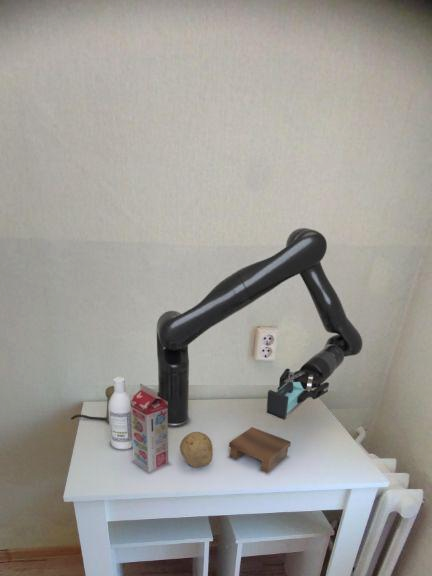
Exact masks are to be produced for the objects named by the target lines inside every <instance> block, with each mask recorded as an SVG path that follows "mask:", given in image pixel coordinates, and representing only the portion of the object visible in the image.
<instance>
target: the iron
mask: <svg viewBox="0 0 432 576" xmlns="http://www.w3.org/2000/svg"><path fill="white" fill-rule="evenodd" d="M277 390H278V389H277ZM304 390H305V389H303V387H302V385H301V383H300V382H288V383H286V384H285V385H284V386H282V387H281V388H280V389H279V390H278V391H275V390H272V389H269V390H268V391H267V402H266V414H269V415H271V416H273V417H276V418H279V419H281V420H283V421H285V420H286V419H287V418H288V417H290V415H291V414H292V413H293V412H295V411H296V410H297V409H298V407H300V406H301V405H302V404H303V402H301V403H300V404H299V403H297V397H298V396H299V395H300V394H301V393H302V392H303V391H304Z"/></svg>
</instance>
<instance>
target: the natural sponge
mask: <svg viewBox="0 0 432 576" xmlns="http://www.w3.org/2000/svg"><path fill="white" fill-rule="evenodd" d="M213 449H214V448H213V444H212V440H211V438H210V436H209V435H207V434H206V433H203V432H202V431H201V432H200V431H193V432H190V433H188V434H187V435H185V436H184V437H183V438H182V440H181V442H180V444H179V452H180V454H181V456H182V458H183V460H184V461H185V462H186V463H187V464H188V465H189V466H191V467H193V468H200V467H203V466H208V465H210V464H211V463H212V461H213V457H214V452H213V451H214V450H213Z"/></svg>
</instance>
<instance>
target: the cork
mask: <svg viewBox="0 0 432 576" xmlns="http://www.w3.org/2000/svg"><path fill="white" fill-rule="evenodd" d="M104 393H105V397H106V398H107V403H106V404H107V405H106V418H107V420H106V423H108V424H109V425H110V423H109V412H108V404H109V400H110V398H111V396H112V394H113V393H114V385H109V386H108V387H107V388H105V391H104Z"/></svg>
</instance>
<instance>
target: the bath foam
mask: <svg viewBox="0 0 432 576" xmlns="http://www.w3.org/2000/svg"><path fill="white" fill-rule="evenodd" d="M125 381H126V380H125V377H122V376H116V377H114V378H113V386H114V393H113V394H112V396H111V398H110V400H109V404H108V412H109V423H110V424H109V423H108V424H109V433H110V435H109V436H110V443H111V446H112V447H113V448H114V449H116V450H117V449H118V450H127V449H131V448H133V440H132V421H131V403H130V399H131V398H132V397H131V396H130V395H129V393H128V392H127V391H126V382H125Z"/></svg>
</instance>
